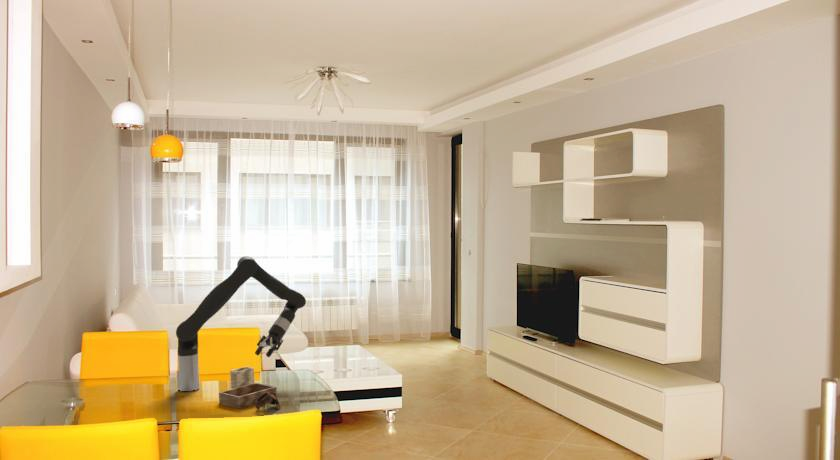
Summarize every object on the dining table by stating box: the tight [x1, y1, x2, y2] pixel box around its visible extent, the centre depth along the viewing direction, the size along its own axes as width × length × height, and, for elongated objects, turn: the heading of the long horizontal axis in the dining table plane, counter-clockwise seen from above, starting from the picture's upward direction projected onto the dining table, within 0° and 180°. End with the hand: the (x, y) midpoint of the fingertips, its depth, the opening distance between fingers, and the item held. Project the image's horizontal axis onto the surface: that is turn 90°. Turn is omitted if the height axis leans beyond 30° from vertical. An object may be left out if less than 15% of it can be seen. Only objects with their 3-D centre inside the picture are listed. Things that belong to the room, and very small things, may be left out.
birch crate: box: [229, 366, 255, 389], centre depth 305 cm, size 9×6×11 cm, turn 141°
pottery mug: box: [255, 392, 281, 411], centre depth 277 cm, size 12×10×8 cm
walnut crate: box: [218, 382, 278, 410], centre depth 290 cm, size 20×15×5 cm
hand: (261, 355), depth 314 cm, fingers open, 8 cm apart
